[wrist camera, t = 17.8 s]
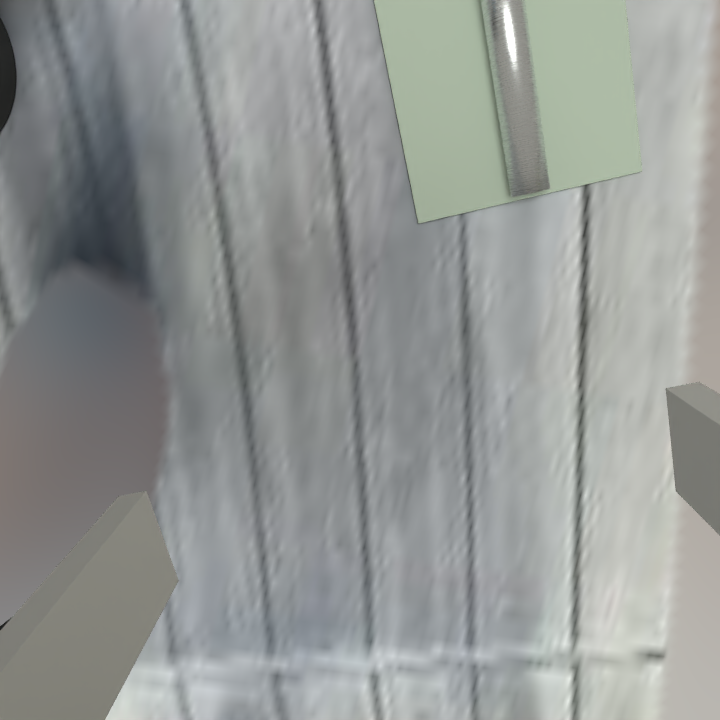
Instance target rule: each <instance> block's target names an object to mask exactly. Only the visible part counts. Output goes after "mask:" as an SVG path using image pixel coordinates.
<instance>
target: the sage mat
mask: <svg viewBox="0 0 720 720" xmlns="http://www.w3.org/2000/svg"><path fill="white" fill-rule="evenodd" d="M374 4H375V9H376V14H377V19H378V24H379V29H380V35H381V40H382V45H383V50H384V55H385V60H386V65H387V70H388V75H389V80H390V85H391V90H392V95H393V100H394V105H395V110H396V115H397V120H398V125H399V130H400V135H401V140H402V145H403V150H404V155H405V160H406V165H407V170H408V175H409V180H410V185H411V190H412V195H413V200H414V205H415V210H416V215H417V220H418V223H423V222H427V221H431V220H436V219H440V218H444V217H449V216H453V215H457V214H461V213H466V212H470V211H474V210H479V209H483V208H487V207H491V206H496V205H500V204H504V203H509V202H513V201H517V200H521V199H526V198H530V197H534V196H539V195H543V194H547V193H551V192H556V191H560V190H564V189H569V188H573V187H577V186H581V185H586V184H590V183H594V182H599V181H603V180H607V179H612V178H616V177H620V176H624V175H629V174H633V173H637V172H642V165H641V155H640V145H639V135H638V125H637V115H636V105H635V94H634V84H633V74H632V64H631V54H630V44H629V33H628V23H627V13H626V3H625V0H525V5H526V12H527V19H528V27H529V34H530V41H531V49H532V56H533V63H534V71H535V78H536V85H537V93H538V100H539V107H540V115H541V122H542V129H543V137H544V144H545V151H546V159H547V166H548V173H549V181H550V189H547V190H543V191H539V192H535V193H531V194H526V195H521V196H516V197H511V194H510V188H509V181H508V175H507V168H506V162H505V155H504V149H503V142H502V136H501V129H500V123H499V116H498V110H497V103H496V97H495V90H494V84H493V78H492V71H491V65H490V58H489V52H488V45H487V39H486V32H485V26H484V19H483V13H482V6H481V0H374Z"/></svg>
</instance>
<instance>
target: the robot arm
mask: <svg viewBox="0 0 720 720" xmlns="http://www.w3.org/2000/svg"><path fill="white" fill-rule="evenodd" d="M14 92H15V63H14V56H13V52H12V48H11V44H10V41H9V38H8V35H7V32H6V30H5V28H4V25H3V23H2V21H1V19H0V130H1V129H2V127H3V125H4V124H5V122H6V120H7V118H8V115H9V113H10V110H11V107H12V103H13V98H14ZM666 396H667V406H668V416H669V427H670V437H671V447H672V457H673V468H674V478H675V488H676V492H677V493H678V494H679V495H680V496H681V497H682V498H683V499H684V500H685V501H686V502H687V503H688V504H689V505H690V506H691V507H692V508H693V509H694V510H695V511H696V512H697V513H698V514H699V515H700V516H701V517H702V518H703V519H704V520H705V521H706V522H707V523H708V524H709V525H710V526H711V527H712V528H713V529H714V530H715V531H716V532H717V533H718V534H719V535H720V394H719V393H717V392H715V391H714V390H712V389H710V388H709V387H707V386H705V385H704V384H702V383H700V382H696V383H691V384H686V385H681V386H676V387H670V388H666ZM178 581H179V580H178V578H177V575H176V572H175V569H174V567H173V564H172V561H171V558H170V555H169V553H168V550H167V547H166V544H165V542H164V539H163V536H162V533H161V531H160V528H159V525H158V522H157V519H156V517H155V514H154V511H153V508H152V506H151V503H150V500H149V497H148V495H147V492H146V491H143V492H138V493H133V494H128V495H123V496H119V497H118V498H117V499H116V500H115V501H114V502H113V503H112V504H111V505H110V507H109V508H108V509H107V510H106V511H105V512H104V513H103V515H102V516H101V517H100V518H99V519H98V520H97V521H96V522H95V524H94V525H93V526H92V527H91V528H90V529H89V530H88V532H87V533H86V534H85V535H84V536H83V537H82V538H81V540H80V541H79V542H78V543H77V544H76V545H75V546H74V548H73V549H72V550H71V551H70V552H69V553H68V555H66V557H65V558H64V559H63V560H62V561H61V562H60V563H59V565H58V566H57V567H56V568H55V569H54V570H53V571H52V573H51V574H50V575H49V576H48V577H47V578H46V579H45V581H44V582H43V583H42V584H41V585H40V586H39V587H38V588H37V590H36V591H35V592H34V593H33V594H32V596H31V597H30V598H29V599H28V600H27V601H26V602H25V604H23V605H22V607H21V608H20V609H19V610H18V611H17V612H16V614H15V615H14V616H13V617H12V618H10V619H9V620H8V621H6V622H5V623H4V624H3V625H1V626H0V720H105V718H106V717H107V715H108V713H109V711H110V709H111V707H112V705H113V703H114V702H115V700H116V698H117V696H118V694H119V692H120V690H121V688H122V686H123V685H124V683H125V681H126V679H127V677H128V675H129V673H130V671H131V670H132V668H133V666H134V664H135V662H136V660H137V658H138V656H139V654H140V653H141V651H142V649H143V647H144V645H145V643H146V641H147V639H148V637H149V636H150V634H151V632H152V630H153V628H154V626H155V624H156V622H157V621H158V619H159V617H160V615H161V613H162V611H163V609H164V607H165V605H166V604H167V602H168V600H169V598H170V596H171V594H172V592H173V590H174V588H175V587H176V585H177V583H178Z"/></svg>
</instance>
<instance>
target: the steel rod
mask: <svg viewBox="0 0 720 720" xmlns="http://www.w3.org/2000/svg"><path fill="white" fill-rule="evenodd" d="M481 6H482V13H483V19H484V26H485V32H486V39H487V45H488V52H489V58H490V65H491V71H492V78H493V84H494V90H495V97H496V103H497V110H498V116H499V123H500V129H501V136H502V142H503V149H504V155H505V162H506V168H507V175H508V181H509V188H510V194H511V197H516V196H521V195H526V194H531V193H535V192H539V191H543V190H547V189H550V181H549V173H548V166H547V159H546V151H545V144H544V137H543V129H542V122H541V115H540V107H539V100H538V93H537V85H536V78H535V71H534V63H533V56H532V49H531V41H530V34H529V27H528V19H527V12H526V5H525V0H481Z"/></svg>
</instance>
